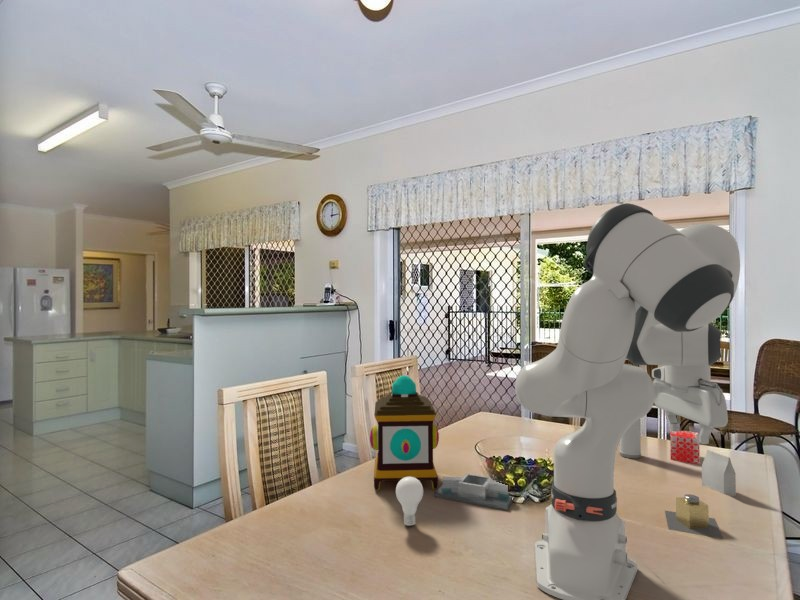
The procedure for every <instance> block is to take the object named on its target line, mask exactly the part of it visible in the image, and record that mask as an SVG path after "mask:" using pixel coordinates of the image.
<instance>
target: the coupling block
mask: <svg viewBox="0 0 800 600" xmlns="http://www.w3.org/2000/svg"><path fill="white" fill-rule="evenodd" d="M675 512H676V520H678V521H679V522H681V523H682V524H683V525H685V526H686V527H688V528H689V529H696V528H709V520H708V518H709V505H708V504H707V503H706V502H704V501H702V500H701V499H700V497H699V496H697V495H695V494H684V497H681V496H680V497H675Z"/></svg>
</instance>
